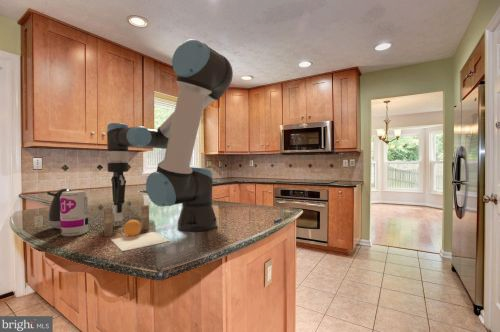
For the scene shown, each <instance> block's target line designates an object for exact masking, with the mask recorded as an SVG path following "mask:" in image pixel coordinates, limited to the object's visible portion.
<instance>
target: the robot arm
mask: <svg viewBox="0 0 500 332" xmlns="http://www.w3.org/2000/svg"><path fill="white" fill-rule="evenodd" d="M171 66H172V69H173V70H172V71H174V73H175V74H176V75H177V76H176V81H175V83H176V85H177V86H178V89H179V90H178V94H177V99H176V103H175V108H174V111H173V112H172V113H171V114H170V116H168V117H167V118H166V120H165V121H163V122H162V123H161V125H160V126H158V128H156V129H151V128H147V127H146V126H137V125H136V126H131V127H129V125H128V124H127V123H121V122H110V123H108V124H107V128H106V129H107V131H106V142H107V143H106V145H107V153H106V154H105V156H106V157H107V162H108V163H107V172H108V173H112V174H113V175H112V176H111V179H110V181H111V189H112V190H111V191H112V202H113V206H114V212H113V214H114V222H121V221H123V220H124V219H123V218H124V216H123V215H124V214H123V211H124V207H123V205H124V204H125V198H126V197H125V196H126V193H125V192H126V183H127V180H126V177H125V176H124V173H127V172H129V170H130V169H129V163H128V162H129V148H152V149H161V150H164V149H165V154H164V158H163V160H162V161H160V162H158V164H157V167H156V171H154V172H151V173H150V174H149V175H148V176H147V178H146V183H145V190H146V193H147V196H148V198H149V200H150V202H152V204H154V205H156V207H172V206H175V205H180V204H182V205H181V211H180V214H179V217H178V219H177V229H179V230H180V231H184V232H204V231H209V230H213V229H215V228H216V227H217V226H218V223H217V222H218V221H217V217H216V214H215V211H214V208H213V172H212V171H211V169H208V168H206V167H205V168H204V167H196V166H194V167H192V166H190V165H191V160H192V157H193V151H194V147H195V143H196V139H197V136H198V133H199V127H200V122H201V118H202V114H203V111H204V110H205V109H206V108H207V107H208V106H209V105H211V103H212V102H214V101H219V100H220V98H222V97H223V96H224V94H225V93H227V91H228V89H229V88H230V86H231V83H232V82H233V81H232V80H233V76H234V71H233V66H232V64H231V63H230V61H229V60H228V58H227V57H225V55H222V54H220V53H219V52H217V51H216V50H215V49H213V48H211V47H210V46H208V44H206V43H204V42H202V41H200V40H198V39H193V38H192V39H187V40H185V41H183V42H182V43H181V44H179V45H178V46H177V48H176V49H175V51H174V52H173V55H172V59H171Z"/></svg>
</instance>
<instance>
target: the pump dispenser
mask: <svg viewBox="0 0 500 332" xmlns="http://www.w3.org/2000/svg"><path fill="white" fill-rule="evenodd" d="M66 191H72V190H71V189H69V188H62V189H58V191H57V192H53V191H47V192H46V194H47V195H48V196H52V197H53V198H52V200H51V203H50V206H49V209H48V214H47V221H48V222H49V224H50V226H51V227H52V228H54V229H56V230H60V196H61V194H62V192H66Z"/></svg>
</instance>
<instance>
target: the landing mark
mask: <svg viewBox="0 0 500 332" xmlns="http://www.w3.org/2000/svg"><path fill="white" fill-rule="evenodd" d="M110 241H111V243H113V244H114V245H115V246H116V247H117V248H118V249H119V250H120V251H121V252H127V251H132V250H135V249H136V250H137V249H140V248H141V249H142V248H145V247H149V246H150V247H151V246H155V245H160V244H164V243H169V242H170V240H169V239H167V238H165V237H163V236H162V235H160V234H158V233H157V232H155V231H150V232H146V233H138V234H137V235H135V236H128V235H127V236H124V237H123V236H122V237H118V238H112V239H110Z"/></svg>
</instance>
